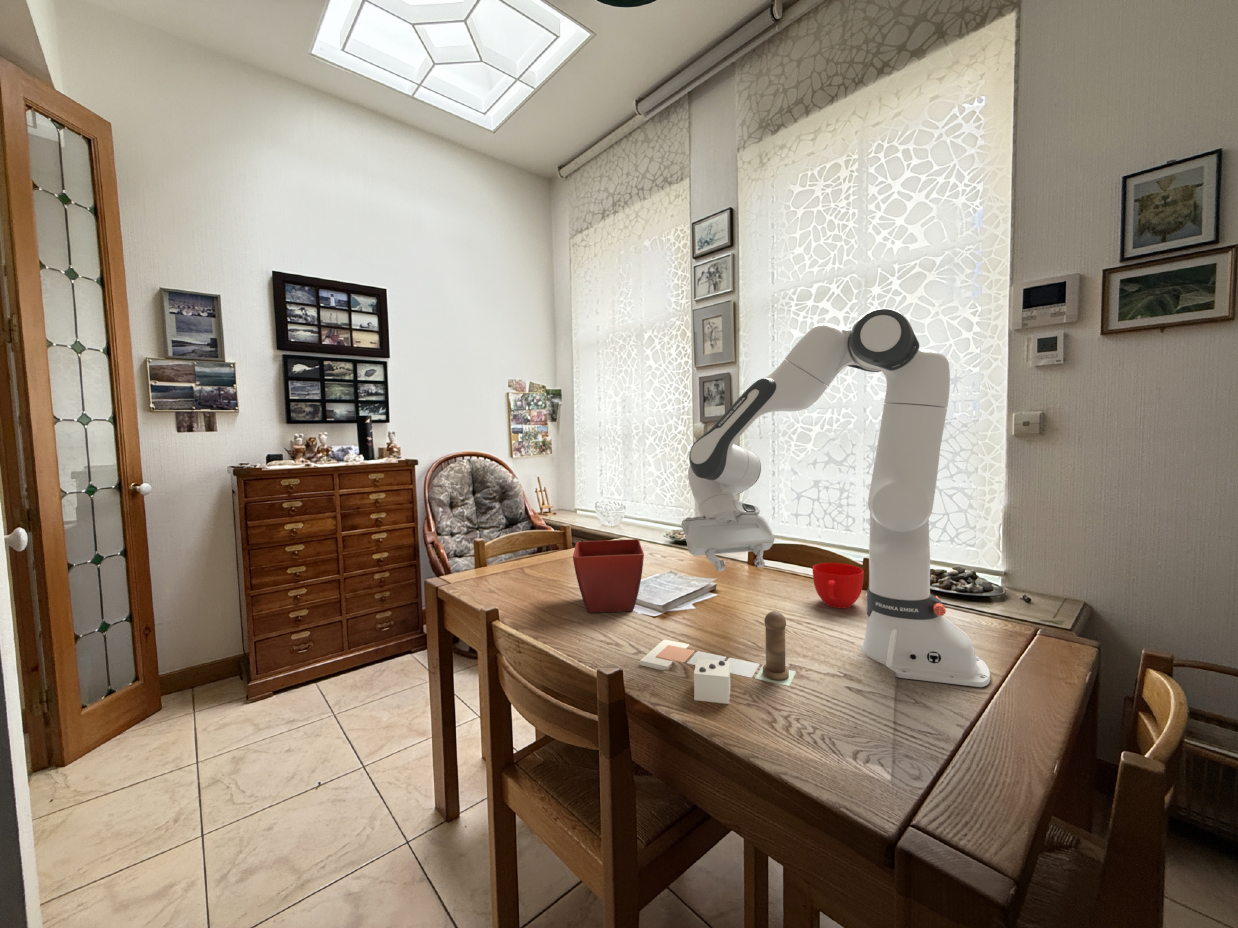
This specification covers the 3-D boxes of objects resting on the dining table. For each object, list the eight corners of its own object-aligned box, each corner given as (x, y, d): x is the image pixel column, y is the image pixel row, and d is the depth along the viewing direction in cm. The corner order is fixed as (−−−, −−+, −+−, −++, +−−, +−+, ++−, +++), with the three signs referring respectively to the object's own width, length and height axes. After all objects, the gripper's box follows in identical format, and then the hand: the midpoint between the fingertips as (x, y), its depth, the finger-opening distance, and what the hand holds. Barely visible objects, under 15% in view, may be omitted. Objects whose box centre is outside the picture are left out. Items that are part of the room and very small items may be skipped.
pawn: (791, 672, 96) (790, 609, 96) (785, 682, 92) (785, 618, 91) (766, 666, 99) (765, 606, 98) (760, 677, 94) (759, 613, 94)
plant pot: (574, 618, 131) (572, 556, 130) (577, 595, 150) (576, 541, 149) (645, 615, 132) (644, 553, 131) (640, 593, 151) (639, 538, 150)
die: (730, 692, 91) (730, 658, 91) (729, 710, 86) (728, 673, 85) (697, 689, 93) (697, 655, 93) (694, 706, 87) (693, 669, 87)
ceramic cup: (804, 611, 132) (804, 575, 131) (818, 594, 146) (818, 560, 145) (857, 620, 124) (857, 581, 124) (866, 601, 138) (866, 566, 138)
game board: (810, 673, 98) (810, 667, 98) (799, 702, 87) (799, 695, 87) (664, 643, 114) (664, 638, 114) (640, 664, 103) (640, 659, 103)
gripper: (683, 510, 110) (701, 564, 102) (764, 505, 116) (788, 556, 107) (675, 526, 115) (692, 579, 106) (754, 521, 120) (776, 571, 111)
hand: (741, 567), depth 106 cm, fingers open, 8 cm apart
